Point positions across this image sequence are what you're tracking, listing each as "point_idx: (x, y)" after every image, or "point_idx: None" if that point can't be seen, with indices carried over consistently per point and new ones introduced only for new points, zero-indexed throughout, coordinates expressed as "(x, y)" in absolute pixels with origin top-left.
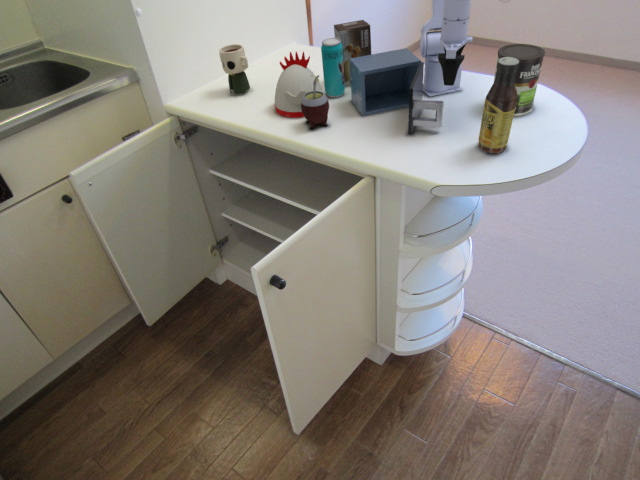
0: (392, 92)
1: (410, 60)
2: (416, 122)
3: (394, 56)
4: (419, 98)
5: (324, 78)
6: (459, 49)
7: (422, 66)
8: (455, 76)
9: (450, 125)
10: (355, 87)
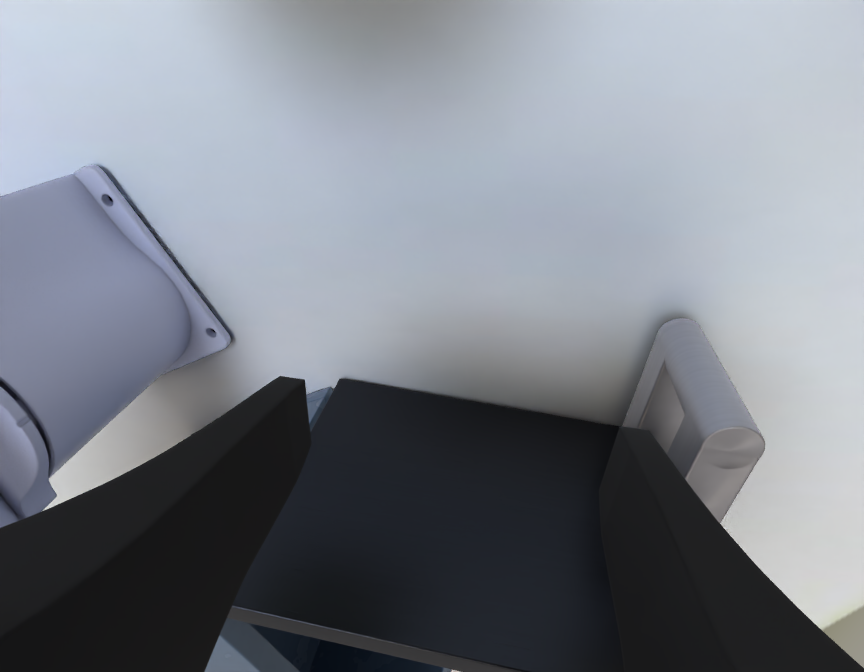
0: None
1: (217, 662)
2: None
3: None
4: (419, 455)
5: None
6: (135, 590)
7: (290, 611)
8: (707, 511)
9: (578, 239)
10: None
